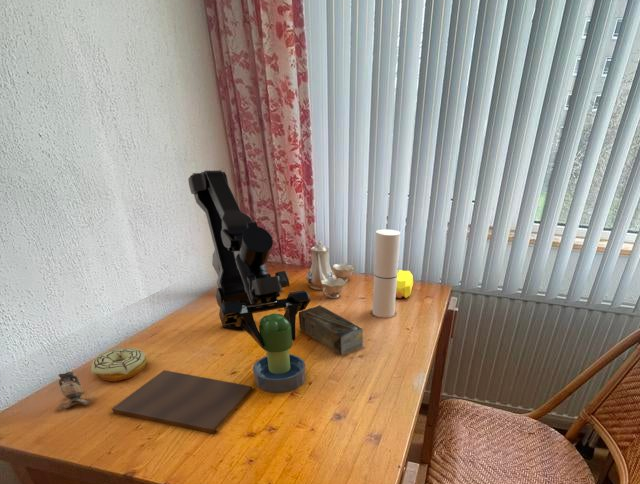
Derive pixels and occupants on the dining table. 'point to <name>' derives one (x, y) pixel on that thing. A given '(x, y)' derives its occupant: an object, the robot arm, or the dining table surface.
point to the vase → (71, 389)
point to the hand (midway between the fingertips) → (278, 343)
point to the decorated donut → (119, 364)
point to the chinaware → (327, 272)
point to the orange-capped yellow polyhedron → (404, 284)
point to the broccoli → (276, 342)
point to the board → (184, 401)
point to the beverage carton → (331, 329)
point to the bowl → (279, 376)
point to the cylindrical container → (385, 272)
